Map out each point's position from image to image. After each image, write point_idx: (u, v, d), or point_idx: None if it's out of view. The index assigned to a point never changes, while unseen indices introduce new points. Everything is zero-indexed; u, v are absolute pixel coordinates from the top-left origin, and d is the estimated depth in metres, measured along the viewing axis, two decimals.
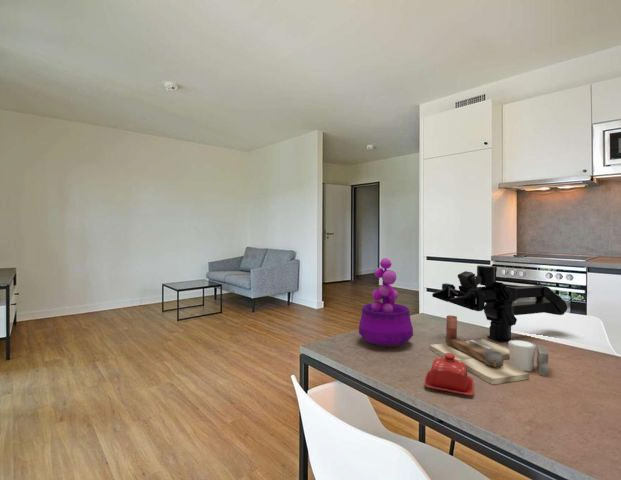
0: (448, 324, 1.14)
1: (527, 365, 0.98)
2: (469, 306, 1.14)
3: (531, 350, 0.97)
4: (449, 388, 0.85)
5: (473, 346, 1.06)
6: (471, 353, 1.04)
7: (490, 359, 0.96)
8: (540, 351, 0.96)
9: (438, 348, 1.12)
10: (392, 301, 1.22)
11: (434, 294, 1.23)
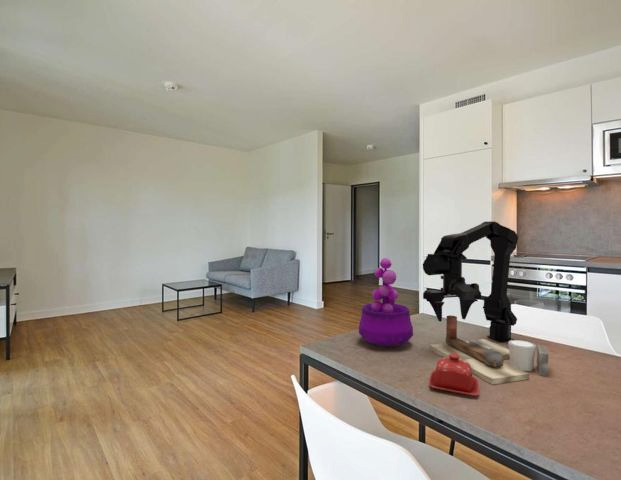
0: (448, 324, 1.14)
1: (527, 365, 0.98)
2: None
3: (531, 350, 0.97)
4: (454, 388, 0.85)
5: (473, 346, 1.06)
6: (471, 353, 1.04)
7: (490, 359, 0.96)
8: (540, 351, 0.96)
9: (438, 348, 1.12)
10: (392, 301, 1.22)
11: None
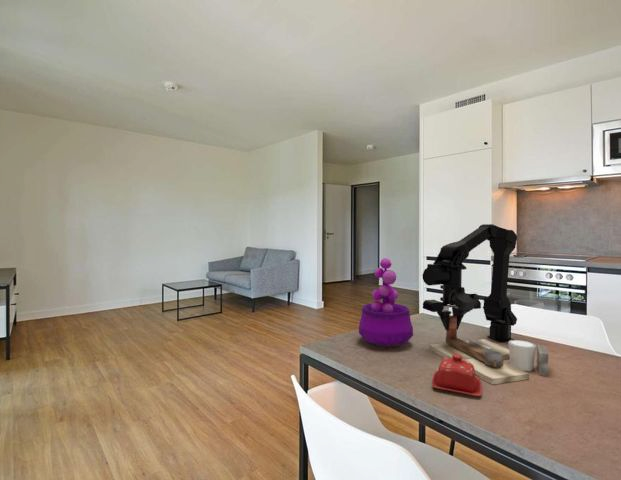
0: None
1: (527, 365, 0.98)
2: None
3: (531, 350, 0.97)
4: (457, 389, 0.85)
5: (473, 346, 1.06)
6: (471, 353, 1.04)
7: (490, 359, 0.96)
8: (540, 351, 0.96)
9: (438, 348, 1.12)
10: (392, 301, 1.22)
11: None
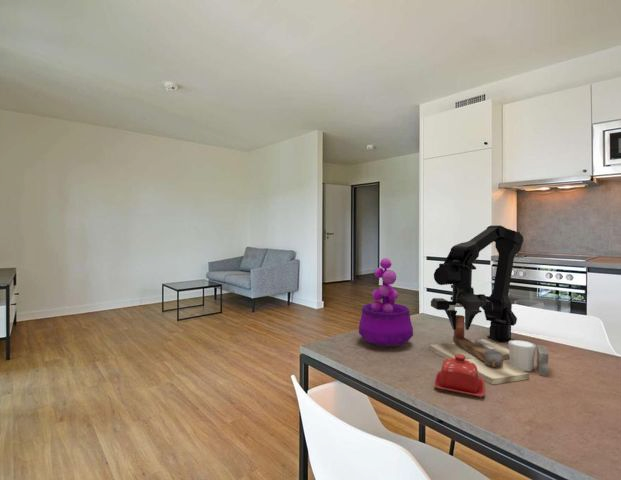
0: None
1: (527, 365, 0.98)
2: None
3: (531, 350, 0.97)
4: (460, 389, 0.84)
5: (477, 346, 1.07)
6: (474, 352, 1.05)
7: (489, 359, 0.97)
8: (540, 351, 0.96)
9: (438, 348, 1.12)
10: (392, 301, 1.22)
11: None
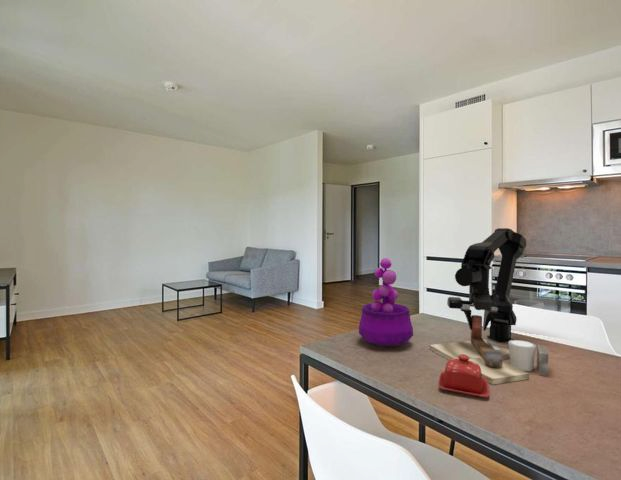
0: None
1: (527, 365, 0.98)
2: None
3: (531, 350, 0.97)
4: (464, 390, 0.84)
5: (487, 346, 1.06)
6: (480, 352, 1.05)
7: (487, 358, 0.97)
8: (540, 351, 0.96)
9: (438, 348, 1.12)
10: (392, 301, 1.22)
11: (471, 327, 1.15)
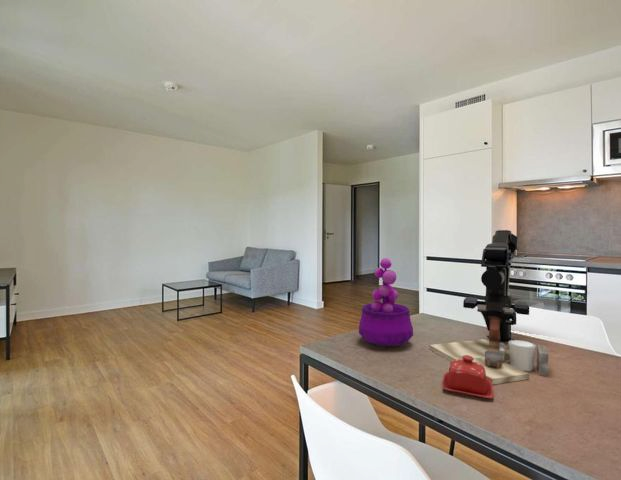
0: (489, 324, 1.14)
1: (527, 365, 0.98)
2: None
3: (531, 350, 0.97)
4: (468, 391, 0.83)
5: (496, 347, 1.05)
6: None
7: (485, 357, 0.98)
8: (540, 351, 0.96)
9: (438, 348, 1.12)
10: (392, 301, 1.22)
11: None
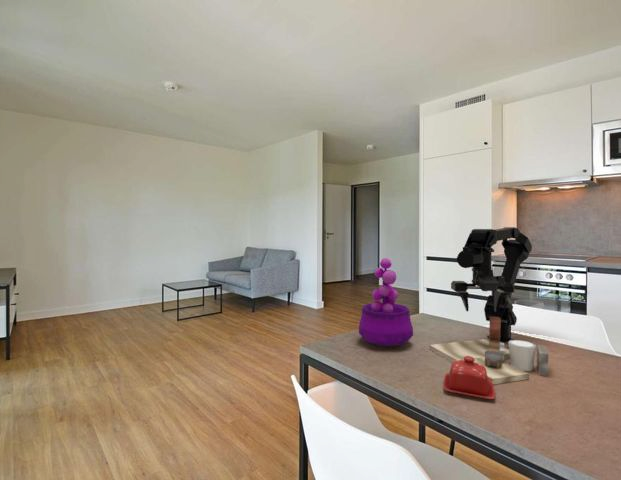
0: None
1: (527, 365, 0.98)
2: None
3: (531, 350, 0.97)
4: (470, 392, 0.83)
5: (496, 347, 1.05)
6: None
7: (485, 357, 0.98)
8: (540, 351, 0.96)
9: (438, 348, 1.12)
10: (392, 301, 1.22)
11: None
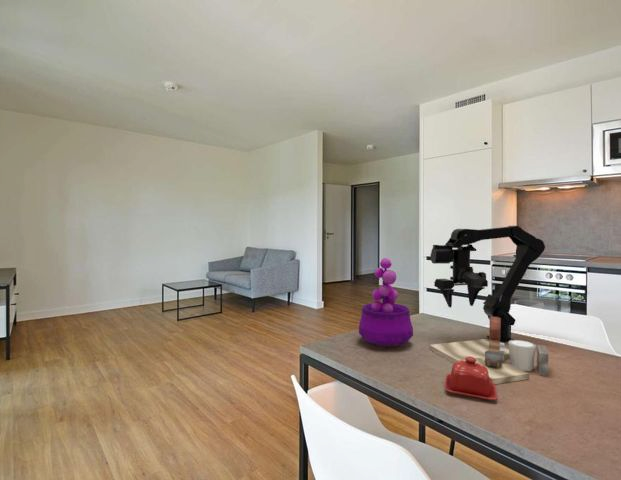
0: None
1: (527, 365, 0.98)
2: None
3: (531, 350, 0.97)
4: (471, 393, 0.82)
5: (496, 347, 1.05)
6: None
7: (485, 357, 0.98)
8: (540, 351, 0.96)
9: (438, 348, 1.12)
10: (392, 301, 1.22)
11: None
